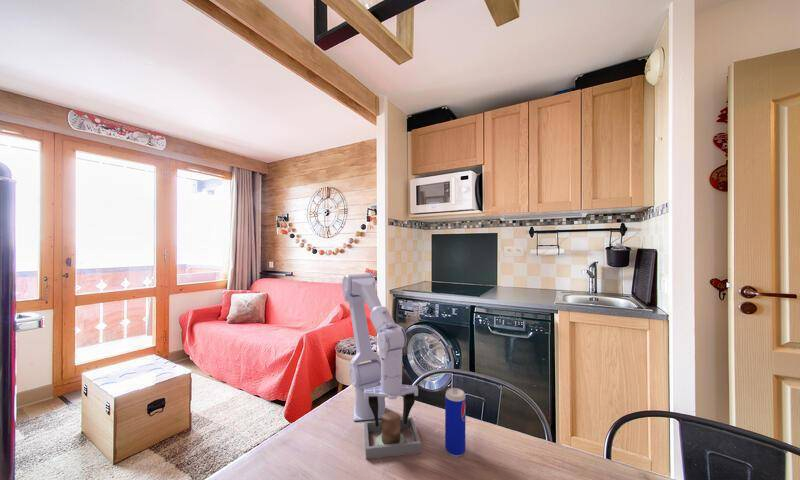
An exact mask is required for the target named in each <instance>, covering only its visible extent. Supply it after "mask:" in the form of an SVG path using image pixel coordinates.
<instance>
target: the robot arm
mask: <svg viewBox="0 0 800 480" xmlns="http://www.w3.org/2000/svg"><path fill="white" fill-rule="evenodd" d="M376 282H377V281H376V277H375V275H374V273H372V272H368V273H352V274H350V273H346V274H345V275H344V276H343V278H342V286H341V287H342V293H343V294H342V295H343V297H344V301H345V302H348V306H349V310H350V311H349V312H350V319H351V323H352V326H351V327H352V331H353V338H354V345H355V352H356V353H355V355H354V356H353V357H352V358H351V360H350V361H349V375H348V376H349V382H350V384H351V386H353V388H355V389H354V405H353V421H354V422H357V421H358V422H359V421H372V420H374V421H375V424H376V427H378V425H379V422H378V420H382V416H383V415H384V414H385V413H386V412H385V411H386V410H385V409H386V398H388V399H389V400H397V398H398V397H402V398H403V399H402V401H403V408H402V409H403V410H402V418H403V421H404V424H407V419H408V418H409V416H410V413H411V410H412V408H413V406H414V405H415V402H416V398H415V397H419V388H418V385H414V384H413V385H410V384H402V383H403V348H406V345H407V338H408V337H407V333H406V331H405V329H404V327H403V326H401V325H399V324H398V323H396V322H395V320H394V319H393V316H392V315H391V313H390V311H389V309H388V307H386V306H382V305H383V304H382V303H381V300H380V299H379V296H378V293H377V291H376V285H377V284H376ZM365 304H366V306H367V307H368V309H369V311H370V313H369V319H370V321H371V323H372V325H373V328H374V329H375V332H376V334H377V338H376V340H377V341H376V343H377V345H378V353H376V352H374V351H373V349H372V344H371V343H372V342H371V338H370V337H371V336H370V333H369V325H368V319H367V313H366V308H365ZM367 361H368V362H367Z"/></svg>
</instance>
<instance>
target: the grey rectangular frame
mask: <svg viewBox="0 0 800 480" xmlns="http://www.w3.org/2000/svg"><path fill="white" fill-rule="evenodd" d="M378 422H379V425H378V427H376V424H375V420H366V421H364V425H363V427H364V428H363V430H364V431H363V432H364V445H365V447H364V448H365V449H364V450H365V451H364V452H365V460H371V459H377V458H378V459H380V458H387V457H388V458H389V457H395V456H397V457H398V456H405V455H414V454H415V455H416V454H421V453H422V443H421V439H420V436H419V432H418V430H417V427H416V425H415V424H416V423H415V422H414V418H413V417H412V416H411V417H408V419H407V424H404V421H403V417H400V430H402V429H410V432H411V435H412V439H413V441H407V442H406V441H405V443H396V444H387V445H378V444H377V445H371V446H370V443H369V442H370V441H369V433H372V432H382V419H378Z"/></svg>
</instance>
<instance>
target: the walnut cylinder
mask: <svg viewBox="0 0 800 480" xmlns="http://www.w3.org/2000/svg"><path fill="white" fill-rule="evenodd" d="M400 418H401V415H400V414H399V413H397V412H394V411H389V412H385V414H384V415H383V416H382V419H381V420H382V431H381V433H382V443H383V444H384V445H387V444H396V443H399V442H400V433H401V429H400Z"/></svg>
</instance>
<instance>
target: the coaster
mask: <svg viewBox="0 0 800 480" xmlns="http://www.w3.org/2000/svg"><path fill="white" fill-rule="evenodd" d="M399 443H406V437H405V436H404V435H403V433H401V432H400V442H399ZM376 444H377V446H378V445H384V444H383V443H382V432H381V433H380V434H379V435H378V436H377V438H376Z"/></svg>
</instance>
